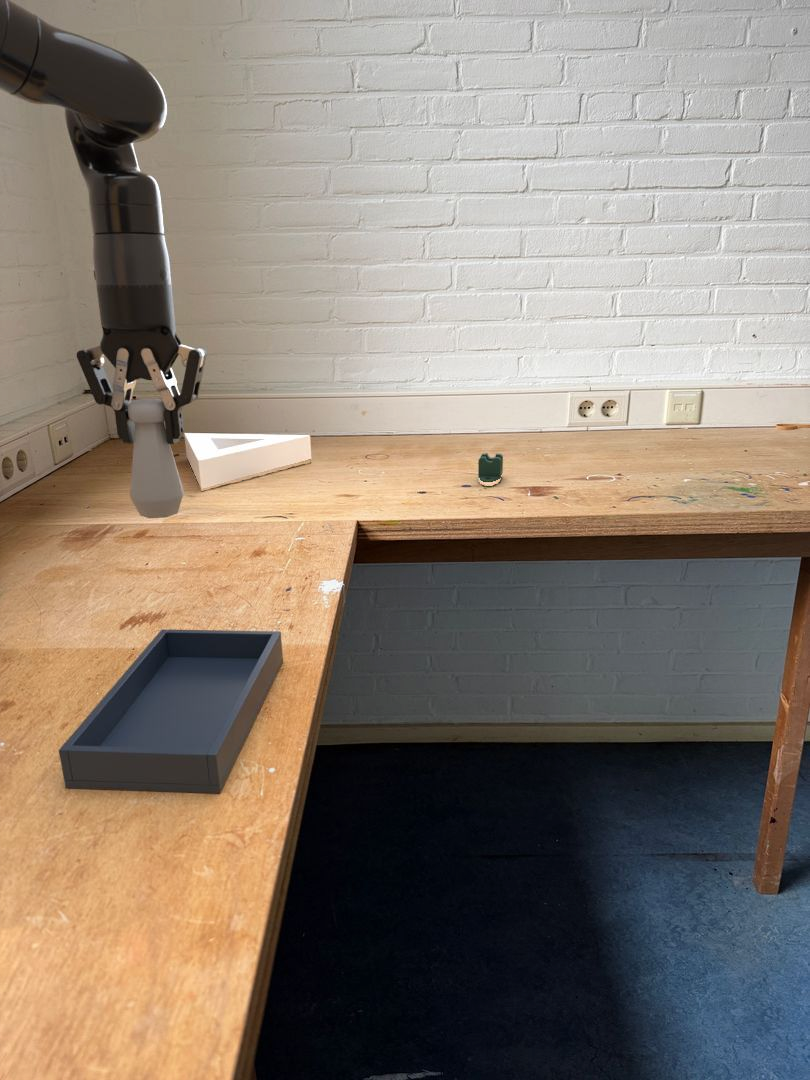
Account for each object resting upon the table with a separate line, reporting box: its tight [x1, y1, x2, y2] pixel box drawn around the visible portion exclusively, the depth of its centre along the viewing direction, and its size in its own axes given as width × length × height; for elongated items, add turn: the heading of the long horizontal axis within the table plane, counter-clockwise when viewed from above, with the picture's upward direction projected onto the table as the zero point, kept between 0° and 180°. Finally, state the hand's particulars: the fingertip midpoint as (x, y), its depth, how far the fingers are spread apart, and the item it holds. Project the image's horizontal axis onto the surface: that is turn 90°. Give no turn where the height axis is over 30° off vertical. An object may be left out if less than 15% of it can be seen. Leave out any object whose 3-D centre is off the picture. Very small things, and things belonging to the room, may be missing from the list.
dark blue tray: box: [58, 628, 284, 794], centre depth 78 cm, size 14×24×4 cm, turn 175°
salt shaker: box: [128, 397, 184, 519], centre depth 89 cm, size 6×6×13 cm
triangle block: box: [183, 432, 312, 490], centre depth 169 cm, size 30×26×6 cm
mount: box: [477, 452, 504, 482], centre depth 162 cm, size 11×4×5 cm, turn 167°
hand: (151, 442), depth 89 cm, fingers closed on salt shaker, 4 cm apart
